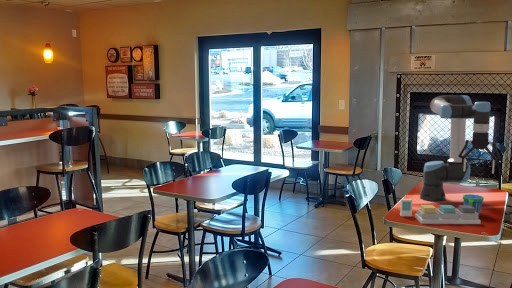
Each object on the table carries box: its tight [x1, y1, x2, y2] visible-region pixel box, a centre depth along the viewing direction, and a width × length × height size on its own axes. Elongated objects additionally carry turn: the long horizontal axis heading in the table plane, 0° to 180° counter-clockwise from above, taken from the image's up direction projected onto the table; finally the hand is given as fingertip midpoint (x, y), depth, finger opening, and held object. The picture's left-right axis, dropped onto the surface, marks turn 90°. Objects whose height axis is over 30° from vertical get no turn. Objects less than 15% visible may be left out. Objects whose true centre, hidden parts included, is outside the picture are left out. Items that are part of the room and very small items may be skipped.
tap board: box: [414, 208, 482, 225], centre depth 249 cm, size 12×30×5 cm, turn 87°
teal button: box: [439, 204, 456, 213], centre depth 249 cm, size 6×6×4 cm
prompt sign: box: [399, 198, 413, 217], centre depth 258 cm, size 3×6×9 cm, turn 87°
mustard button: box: [420, 204, 437, 213], centre depth 249 cm, size 6×6×4 cm
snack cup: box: [462, 194, 485, 215], centre depth 260 cm, size 16×10×10 cm
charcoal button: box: [458, 204, 475, 213], centre depth 248 cm, size 6×6×4 cm
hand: (478, 172), depth 247 cm, fingers open, 13 cm apart
